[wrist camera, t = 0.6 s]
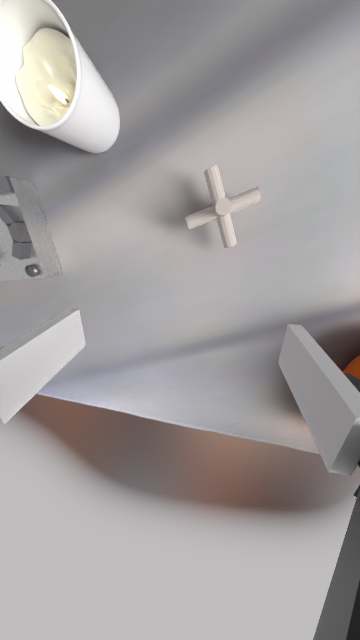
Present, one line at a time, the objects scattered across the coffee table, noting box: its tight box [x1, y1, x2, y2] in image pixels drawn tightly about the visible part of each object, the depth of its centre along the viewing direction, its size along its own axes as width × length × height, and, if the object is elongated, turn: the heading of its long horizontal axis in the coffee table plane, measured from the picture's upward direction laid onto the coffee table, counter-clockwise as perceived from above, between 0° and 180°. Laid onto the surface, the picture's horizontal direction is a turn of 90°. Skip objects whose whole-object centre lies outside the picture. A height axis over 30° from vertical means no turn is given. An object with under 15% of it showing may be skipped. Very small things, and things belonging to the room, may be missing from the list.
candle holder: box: [0, 0, 120, 153], centre depth 26 cm, size 10×10×12 cm
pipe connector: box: [185, 165, 261, 248], centre depth 29 cm, size 10×10×10 cm
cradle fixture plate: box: [0, 176, 63, 282], centre depth 37 cm, size 15×11×7 cm
